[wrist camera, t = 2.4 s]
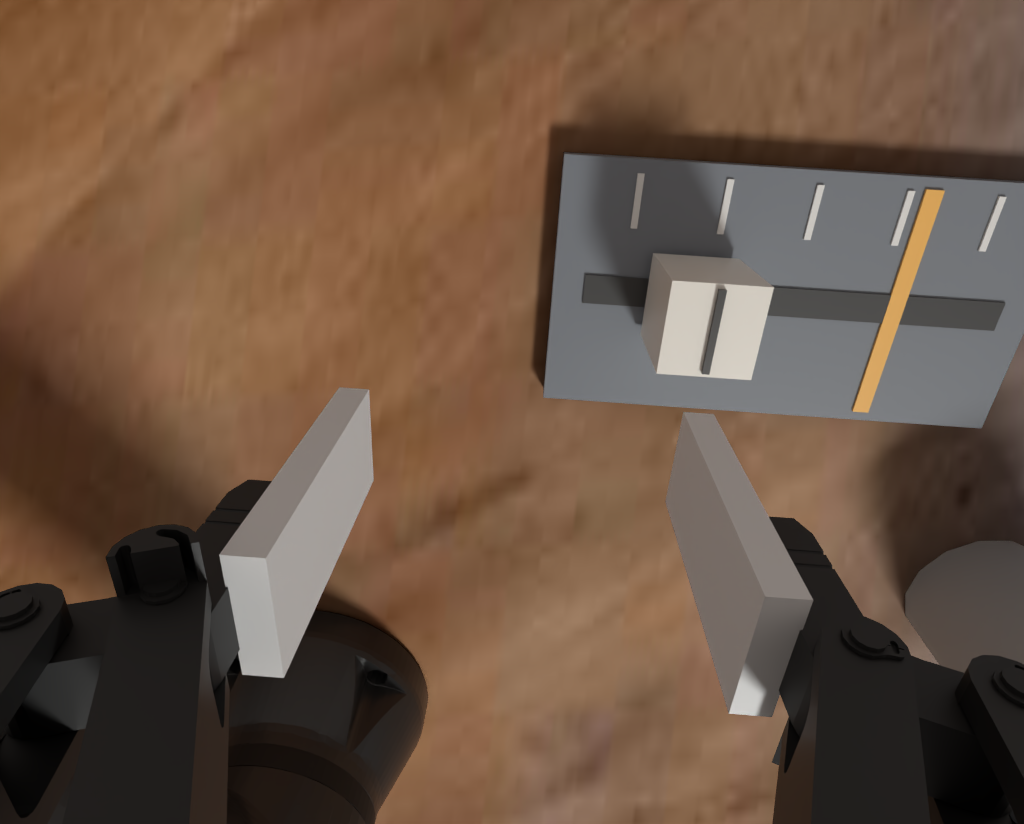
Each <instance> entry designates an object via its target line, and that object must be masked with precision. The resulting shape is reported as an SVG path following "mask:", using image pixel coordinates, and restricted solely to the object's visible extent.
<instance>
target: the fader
mask: <svg viewBox="0 0 1024 824" xmlns="http://www.w3.org/2000/svg"><path fill="white" fill-rule="evenodd" d="M773 290H774V287H773V286H772V285H771V284H769V283H768V282H767V281H766V280H764V279H763V278H762V277H761V276H760V275H758V274H757V273H756V272H755V271H753V270H752V269H751V268H750V267H748V266H747V265H746V264H745V263H744V262H742V261H741V260H740V259H735V258H720V257H705V256H690V255H674V254H659V253H653V256H652V263H651V269H650V276H649V282H648V289H647V295H646V302H645V308H644V315H643V321H642V327H641V334H640V335H641V337H642V339H643V342H644V344H645V347H646V349H647V352H648V354H649V357H650V359H651V362H652V364H653V367H654V369H655V371H656V374H668V375H683V376H697V377H711V378H726V379H740V380H751V379H752V375H753V371H754V367H755V363H756V359H757V355H758V351H759V346H760V342H761V338H762V334H763V330H764V326H765V322H766V318H767V314H768V310H769V306H770V302H771V298H772V294H773Z"/></svg>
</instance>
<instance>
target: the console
mask: <svg viewBox="0 0 1024 824" xmlns="http://www.w3.org/2000/svg"><path fill="white" fill-rule="evenodd" d="M653 253H659V254H674V255H690V256H705V257H720V258H735V259H740V260H741V261H742V262H744V263H745V264H746V265H747V266H748V267H750V268H751V269H752V270H753V271H755V272H756V273H757V274H758V275H760V276H761V277H762V278H763V279H764V280H766V281H767V282H768V283H769V284H771V285H772V286H773V287H774V290H773V294H772V298H771V302H770V306H769V310H768V314H767V318H766V322H765V326H764V330H763V334H762V338H761V342H760V346H759V351H758V355H757V359H756V363H755V367H754V371H753V375H752V379H751V380H740V379H726V378H711V377H697V376H683V375H668V374H656V371H655V369H654V367H653V364H652V362H651V359H650V357H649V354H648V352H647V349H646V347H645V344H644V342H643V339H642V337H641V335H640V334H641V327H642V321H643V315H644V308H645V302H646V295H647V289H648V282H649V276H650V269H651V263H652V256H653ZM1023 333H1024V181H1011V180H995V179H980V178H964V177H948V176H933V175H917V174H901V173H885V172H870V171H854V170H838V169H822V168H807V167H791V166H775V165H760V164H744V163H728V162H712V161H697V160H681V159H665V158H649V157H634V156H618V155H602V154H587V153H571V152H564V155H563V167H562V178H561V190H560V202H559V213H558V225H557V237H556V248H555V260H554V272H553V283H552V295H551V307H550V318H549V330H548V342H547V353H546V365H545V377H544V392H543V397H544V398H558V399H572V400H586V401H600V402H614V403H629V404H643V405H657V406H671V407H685V408H699V409H714V410H728V411H742V412H756V413H770V414H784V415H798V416H813V417H827V418H841V419H855V420H869V421H883V422H898V423H912V424H926V425H940V426H954V427H968V428H982V426H983V424H984V422H985V419H986V417H987V415H988V413H989V410H990V408H991V406H992V404H993V401H994V399H995V397H996V395H997V392H998V390H999V388H1000V385H1001V383H1002V381H1003V379H1004V376H1005V374H1006V372H1007V370H1008V367H1009V365H1010V363H1011V361H1012V358H1013V356H1014V354H1015V352H1016V349H1017V347H1018V345H1019V342H1020V340H1021V338H1022V336H1023Z"/></svg>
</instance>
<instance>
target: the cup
mask: <svg viewBox="0 0 1024 824" xmlns="http://www.w3.org/2000/svg"><path fill="white" fill-rule="evenodd" d="M905 616H906V617H907V619H908V620H909V622H910V623H911V625H912V626H913V627H914V629H915V630H916V632H917V633H918V635H919V636H920V637H921V639H922V640H923V642H924V643H925V645H926V646H927V647H928V649H929V650H930V652H931V653H932V655H933V656H934V657H935V659H936V660H937V662H938V663H939V665H940V666H944V667H947V668H950V669H953V670H957V671H960V672H963V673H965V671H966V669H967V667H968V665H969V664H970V662H971V660H972V659H973V658H976V657H978V656H981V655H996V656H1001V657H1005V658H1008V659H1011V660H1015V661H1018V662H1020V663H1022V664H1024V546H1022V545H1020V544H1018V543H1015V542H1013V541H977V542H974V543H971V544H967V545H964V546H961V547H958V548H955V549H952V550H949V551H946V552H944V553H943V554H942V555H940V556H939V557H938V558H936V559H935V560H933V561H932V562H931V563H929V564H928V565H927V566H925V567H924V568H922V569H921V570H920V571H919V572H918V574H917V575H916V577H915V579H914V580H913V582H912V583H911V585H910V587H909V588H908V590H907V592H906V593H905Z"/></svg>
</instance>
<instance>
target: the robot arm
mask: <svg viewBox="0 0 1024 824" xmlns="http://www.w3.org/2000/svg"><path fill="white" fill-rule="evenodd" d="M372 483H373V460H372V440H371V420H370V400H369V390H368V389H354V388H340V387H339V389H338V390H337V391H336V393H335V394H334V396H333V397H332V398H331V400H330V401H329V403H328V404H327V405H326V407H325V408H324V410H323V411H322V412H321V414H320V415H319V417H318V418H317V419H316V421H315V422H314V423H313V425H312V426H311V428H310V429H309V430H308V432H307V433H306V435H305V436H304V437H303V439H302V440H301V442H300V443H299V444H298V446H297V447H296V449H295V450H294V451H293V453H292V454H291V456H290V457H289V458H288V460H287V461H286V462H285V464H284V465H283V467H282V468H281V469H280V471H279V472H278V474H277V475H276V476H275V478H274V479H273V481H260V480H247V481H245V482H244V483H242V484H241V485H239V486H237V487H236V488H234V489H233V490H231V491H229V492H228V493H227V494H226V496H225V497H224V498H223V499H222V500H221V502H220V503H219V504H218V505H217V507H216V510H215V511H213V512H212V513H211V514H210V515H209V517H208V518H207V519H206V522H205V524H204V523H203V524H202V525H201V526H200V528H199V529H198V530H197V531H196V533H195V532H194V531H193V530H191V529H190V528H188V527H184V526H179V525H158V526H154V527H150V528H146V529H142V530H139V531H137V532H135V533H133V534H130V535H128V536H126V537H124V538H123V539H122V540H120V541H119V542H118V543H117V544H115V545H114V546H113V547H112V548H111V550H110V551H109V553H108V555H107V556H106V560H107V563H108V567H109V570H110V574H111V577H112V580H113V584H114V587H115V590H116V594H117V597H112V598H108V599H101V600H94V601H88V602H81V603H74V604H68V605H67V604H66V601H65V598H64V595H63V592H62V590H61V589H59V588H57V587H56V586H54V585H52V584H42V583H34V584H28V585H21V586H17V587H14V588H11V589H8V590H5V591H2V592H0V824H375V820H376V816H377V813H378V811H379V809H380V808H381V806H382V804H383V802H384V801H385V799H386V797H387V796H388V794H389V792H390V791H391V789H392V787H393V785H394V784H395V782H396V780H397V779H398V777H399V775H400V773H401V772H402V770H403V768H404V767H405V765H406V763H407V761H408V760H409V758H410V756H411V755H412V753H413V751H414V749H415V747H416V746H417V743H418V741H419V738H420V736H421V733H422V729H423V724H424V719H425V714H426V709H427V703H428V692H427V686H426V682H425V679H424V676H423V674H422V672H421V670H420V668H419V666H418V665H417V663H416V662H415V660H414V659H413V658H412V657H411V655H410V654H409V653H408V652H407V651H406V650H405V649H404V648H403V647H402V646H401V645H400V644H399V643H397V642H396V641H395V640H394V639H392V638H391V637H390V636H388V635H387V634H385V633H383V632H382V631H380V630H378V629H376V628H375V627H373V626H371V625H368V624H366V623H364V622H362V621H359V620H356V619H353V618H350V617H347V616H343V615H340V614H335V613H330V612H323V611H315V608H316V606H317V604H318V602H319V600H320V597H321V595H322V593H323V591H324V589H325V586H326V584H327V582H328V580H329V577H330V575H331V573H332V571H333V569H334V566H335V564H336V562H337V560H338V558H339V555H340V553H341V551H342V549H343V547H344V544H345V542H346V540H347V538H348V536H349V533H350V531H351V529H352V527H353V524H354V522H355V520H356V518H357V516H358V513H359V511H360V509H361V507H362V505H363V502H364V500H365V498H366V496H367V494H368V491H369V489H370V487H371V485H372ZM666 505H667V508H668V512H669V515H670V518H671V522H672V525H673V528H674V532H675V535H676V538H677V542H678V545H679V549H680V552H681V555H682V559H683V562H684V565H685V569H686V572H687V575H688V579H689V582H690V585H691V589H692V592H693V595H694V599H695V602H696V605H697V609H698V612H699V615H700V619H701V622H702V625H703V629H704V632H705V635H706V639H707V642H708V645H709V649H710V652H711V655H712V659H713V662H714V666H715V669H716V672H717V676H718V679H719V682H720V686H721V689H722V692H723V696H724V699H725V702H726V706H727V709H728V712H729V714H741V715H753V716H766V717H772V715H773V712H774V709H775V706H776V704H777V701H778V698H779V695H781V697H782V700H783V702H784V705H785V708H786V710H787V713H788V715H789V718H788V721H787V723H786V726H785V729H784V731H783V734H782V737H781V739H780V742H779V745H778V747H777V750H776V753H775V755H774V758H773V761H772V762H773V763H775V764H777V765H779V771H778V780H777V789H776V797H775V806H774V815H773V824H1024V664H1022V663H1020V662H1018V661H1015V660H1011V659H1008V658H1005V657H1001V656H996V655H981V656H978V657H976V658H973V659H972V660H971V662H970V664H969V665H968V667H967V669H966V671H965V673H963V672H960V671H957V670H953V669H950V668H947V667H944V666H940V665H937V664H934V663H931V662H927V661H924V660H921V659H919V658H916V657H913V656H911V655H910V652H909V649H908V647H907V646H906V645H905V643H904V642H903V641H902V640H901V639H900V638H899V637H898V636H897V634H895V633H894V632H892V631H891V630H889V629H888V628H887V627H885V626H884V625H882V624H880V623H878V622H876V621H874V620H871V619H869V618H867V617H864V616H863V615H862V613H861V612H860V610H859V608H858V607H857V605H856V603H855V602H854V600H853V599H852V597H851V595H850V594H849V592H848V591H847V589H846V587H845V586H844V584H843V582H842V581H841V579H840V578H839V576H838V574H837V573H836V571H835V569H832V565H831V563H830V561H829V560H828V558H827V556H826V555H824V554H823V550H822V548H821V547H820V545H819V543H818V542H817V540H816V539H815V537H814V535H813V534H812V533H811V532H809V531H808V530H807V529H806V528H805V527H803V526H802V525H801V524H800V523H799V522H797V521H796V520H795V519H794V518H780V517H769V516H768V515H767V513H766V511H765V509H764V507H763V505H762V503H761V502H760V500H759V498H758V496H757V494H756V492H755V490H754V489H753V487H752V485H751V483H750V481H749V479H748V477H747V475H746V474H745V472H744V470H743V468H742V466H741V464H740V462H739V461H738V459H737V457H736V455H735V453H734V451H733V449H732V447H731V446H730V444H729V442H728V440H727V438H726V436H725V434H724V433H723V431H722V429H721V427H720V425H719V423H718V421H717V420H716V418H715V416H714V414H704V413H690V412H683V417H682V422H681V427H680V432H679V437H678V442H677V447H676V452H675V457H674V462H673V467H672V472H671V477H670V482H669V487H668V492H667V497H666Z"/></svg>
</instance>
